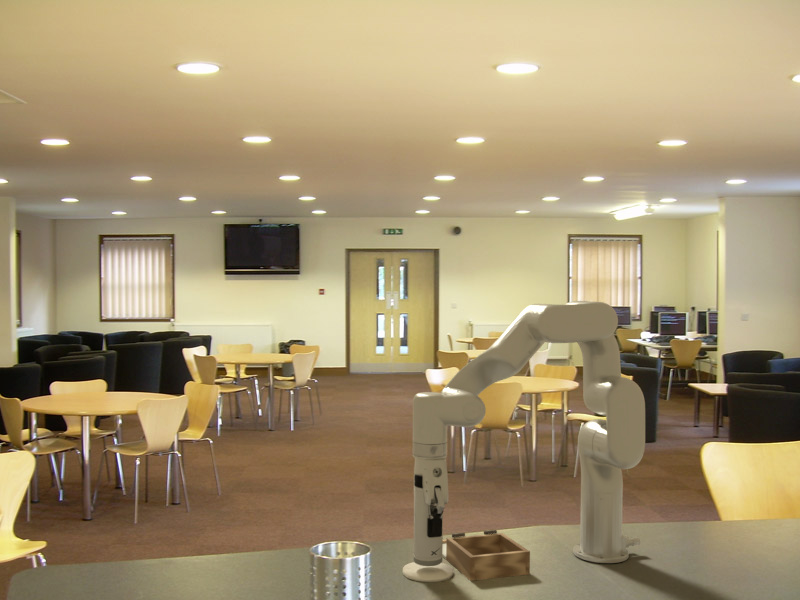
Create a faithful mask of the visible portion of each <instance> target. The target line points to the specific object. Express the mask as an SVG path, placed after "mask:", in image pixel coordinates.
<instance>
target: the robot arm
mask: <svg viewBox="0 0 800 600" xmlns="http://www.w3.org/2000/svg"><path fill="white" fill-rule="evenodd" d="M618 318H619V316H618V314H617V312H616V310H615V309H614V308H613V307H612V305H610V304H608V303H605V302H603V301H602V302H601V301H590V300H589V301H588V300H572V301H569V302H566V303H564V304H550V303H548V304H547V303H534V304H529V305H527V306H525V307H524V308H523V309H522V311H520V312H519V314H517V316H516V317H515V318H514V319H513V320H512V321H511V323H510V324H509V325H508V326H507V327H506V328H505V329H504V330H503V332H502V333H501V334H500V335H499V336H498V338H496V340H495V341H494V342H493V343H492V344H491V345H490V347H488V348H487V349H486V350H485V351H483V352H482V353H480V354H478V356H476V357H474V359H472V360H471V361H469V362H468V363H467V364H466V365H464V366H463V367H462V368H461V369H460V370H458V371H457V372H456V373H455V375H454V376H452V378H450V380H449V381H448V383H447V384H446V385H445V386H444V387H443V389H442V390H441V392H436V391H435V392H434V391H433V392H432V391H423V392H418V393H416V394H415V395H414V396H413V398H412V455H411V457H413V458H414V467H413V477H414V476H415V474H416V475H419V476H422V478H423V484H422V485H423V495H424V502H425V504H426V505H428V512H429V518H427V536H428V537H429V538H431V537H441V536H442V518H444V509H445V507H446V505H448V503H449V480H448V479H449V477H448V476H449V475H448V467H447V459H446V458H448V426H450V427H460V428H461V427H462V428H470V427H471V428H472V427H475V426H477V425H479V424H480V423H481V422H482V421H483V420H484V418H485V416H486V409H487V408H486V405H485V402H484V400H483V399H482V398H481V397H480V396H479V395H480V394H481V393H482V392H483V391H484V390H485V389H487V388H488V387H490V386H492V385H493V384H495V383H498V382H500V381H503V380H506V379H510V378H511V377H513V376H515V375H517V374H519V373H520V372H521V371H522V369H524V367H525V366H526V365H527V364H528V362H529V361H531V359H532V358H533V357H534V355H535V354H536V353H537V352H538V350H539V349H541V347H542V346H544V344H545V343H549V344H572V343H573V344H574V343H577V344H578V346H579V349H580V351H581V355H582V380H583V381H582V387H583V388H582V390H583V391H582V393H583V394H582V395H583V403H584V405H585V407H586V409H588V410H589V411H590V412H592V413H594V414H597V415H601V416H603V417H605V418H606V419H602V418H597V419H592V420H589V421H587V422H586V423H584V424H583V425H582V427H581V428H580V430H579V432H578V436H577V451H578V456H579V464H580V523H579V524H580V528H579V529H580V530H579V533H580V534H579V536H580V537H579V543H578V544H575V545H574V546H573V547H572V548H573V550H572V552H573V555H574V556H575V557H577V558H578V559H581V560H585V561H587V562H591V563H598V564H599V563H600V564H617V563H621V562H625V561H626V560H628V559H629V554H630V553H629V551H628V550H627V549H628V548H629V546H632V547H635V546H637V547H638V546H640V544H641V539H640V537H639V536H633V537H632V536H631V537H629V535H623V494H624V493H623V491H624V481H623V480H624V479H623V478H624V477H623V472H622V470H628V469H632V468H634V467H636V466H638V464H640V462H641V460H642V459H643V456H644V453H645V448H646V401H645V397H644V393H643V391H642V389H641V387H640V386H639V384H638V383H636V382H635V381H634V380H632V379H630V378H627V377H623V376H622V371H621V367H622V366H621V353H620V347H619V344H618V341H617V339H616V336H615V335H614V333H615V332H616V330H617V328H618V325H619V319H618ZM414 482H415V481H414V480H413V483H414ZM431 500H436V503H433V504H432V503H431ZM432 507H436V508H434V510H433V511H432Z"/></svg>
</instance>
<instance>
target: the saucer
mask: <svg viewBox="0 0 800 600" xmlns="http://www.w3.org/2000/svg"><path fill="white" fill-rule="evenodd" d="M402 574H403V576H404V577H405V578H407V579H409V580H412V581H414V582H415V581H416V582H423V583H436V582H443V581H447V580H449V579H451V578H452V577H453V576H454V568H453V567H452V565H449V564H446V563H444V562H442V563H440V564H439V565H436V566H422V565H418V564H416V563H415V562H414V561H413V562H409V563H407V564H405V565H404V566H403V567H402Z"/></svg>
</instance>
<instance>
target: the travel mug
mask: <svg viewBox="0 0 800 600" xmlns="http://www.w3.org/2000/svg"><path fill="white" fill-rule="evenodd" d="M414 481H415V482H414ZM422 484H423V478H422V476H419V475H416V474H415V476H414V475H413V562H415V563H416V564H418V565H422V566H436V565H439V564H440V563H443V557H442V544H443V540H444V539H443V535H444V534H443V533H444V531H443V530H444V528H443V527H444V526H443V523H444V522H443V521H444V520H443V518H444V517H443V518H442V536H441V537H431V538H429V537H428V536H427V518H429V512H428V505H426V504H425V502H424V495H423V485H422ZM431 503H432V504H433V503H436V500H431ZM434 508H436V507H432V511H433V510H434Z"/></svg>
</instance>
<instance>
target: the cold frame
mask: <svg viewBox="0 0 800 600" xmlns="http://www.w3.org/2000/svg"><path fill="white" fill-rule="evenodd" d="M442 556H443V557H442V558H444V560H446V562H448V563H449V564H450V563H451V564H450V565H451V566H453V567H454V568H455V569H456V570H458V572H460V574H462V575H463V576H464V577H465V578H466V579H468V580H469V581H471V582H472V581H473V582H474V581H481V580H488V579H489V580H491V579H500V578H508V577H517V576H525V575H526V576H528V575H530V572H531V569H530V568H531V564H530V563H531V551H530V550H528V549H527V548H526V547H524V546H523V545H521V544H520V543H518V542H517V541H515V540H514V539H512V538H511V537H509V536H508V535H506V534H504V532H499V533H498V531H497V529H492V530H483V534H477V535H476V534H475V535H466V532H457V533H455V532H454V533H451V537H446V539H443V544H442Z"/></svg>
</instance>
